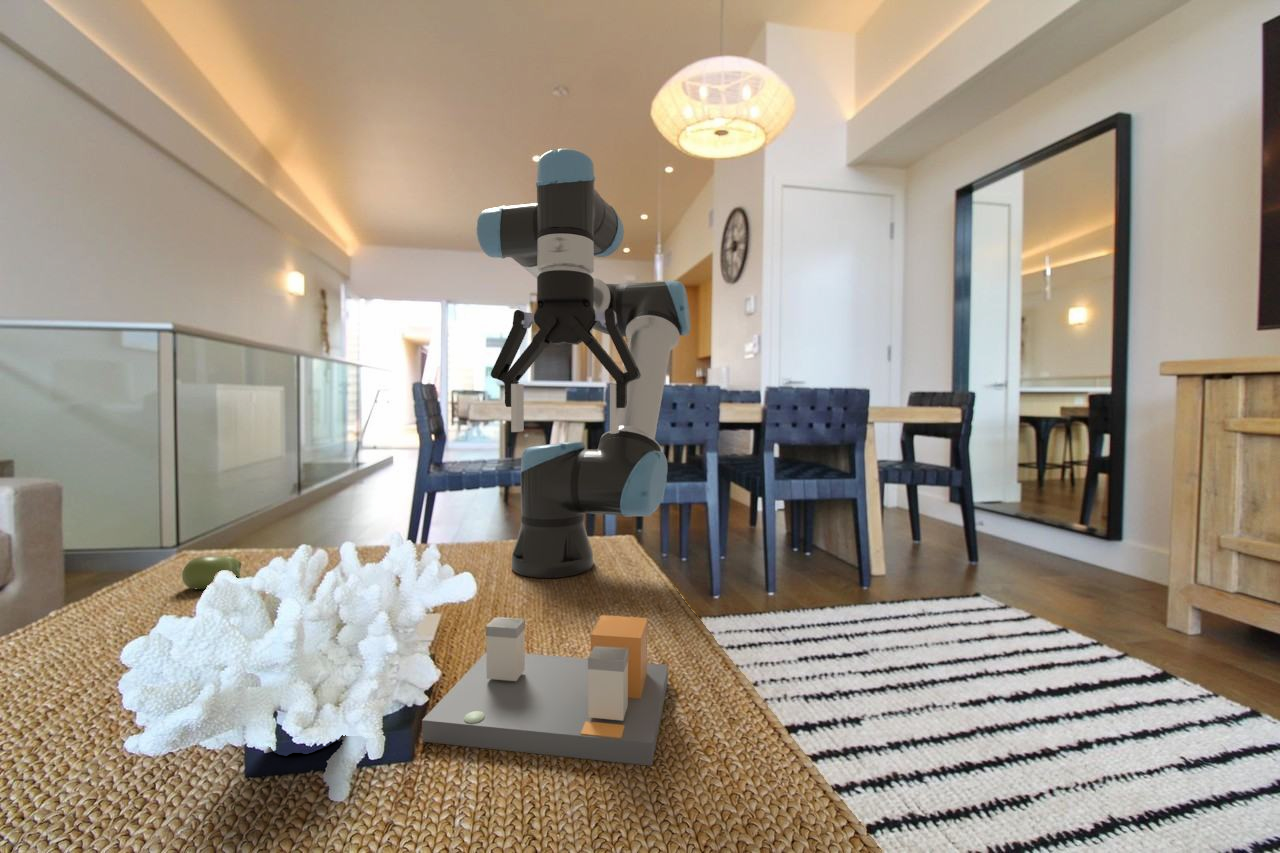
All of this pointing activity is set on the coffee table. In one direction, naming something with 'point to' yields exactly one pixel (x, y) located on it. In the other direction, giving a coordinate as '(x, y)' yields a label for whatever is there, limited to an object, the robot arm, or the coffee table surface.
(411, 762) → the coffee table surface
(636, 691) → the block
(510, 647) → the block
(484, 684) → the plate
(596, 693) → the block
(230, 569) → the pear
